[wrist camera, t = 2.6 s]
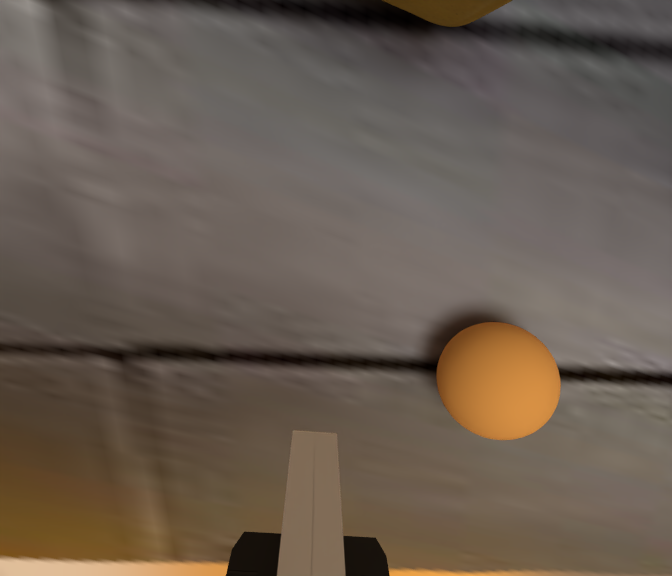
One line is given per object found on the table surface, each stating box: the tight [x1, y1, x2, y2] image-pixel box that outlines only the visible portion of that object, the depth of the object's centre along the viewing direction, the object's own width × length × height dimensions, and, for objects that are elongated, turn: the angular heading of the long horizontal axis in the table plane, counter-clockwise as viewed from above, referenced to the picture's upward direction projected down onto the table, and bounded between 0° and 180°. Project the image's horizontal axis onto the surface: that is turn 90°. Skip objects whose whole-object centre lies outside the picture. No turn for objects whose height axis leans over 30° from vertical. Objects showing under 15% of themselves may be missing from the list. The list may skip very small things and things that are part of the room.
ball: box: [437, 322, 561, 440], centre depth 21 cm, size 6×6×6 cm
